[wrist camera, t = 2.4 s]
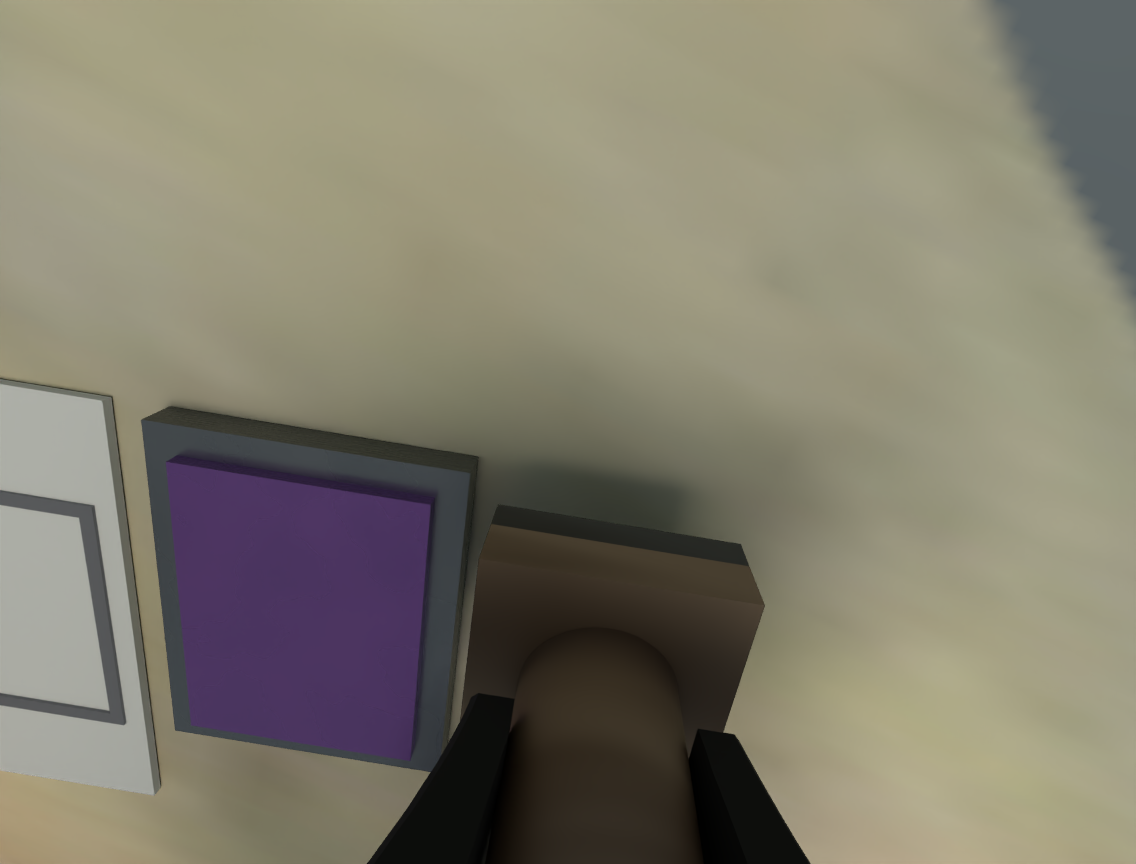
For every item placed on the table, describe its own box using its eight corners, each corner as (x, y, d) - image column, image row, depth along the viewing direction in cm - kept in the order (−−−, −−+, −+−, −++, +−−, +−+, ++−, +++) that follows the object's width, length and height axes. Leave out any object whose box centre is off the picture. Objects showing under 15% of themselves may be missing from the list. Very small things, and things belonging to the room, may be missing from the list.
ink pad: (447, 745, 19) (435, 785, 18) (196, 704, 19) (166, 741, 18) (478, 457, 15) (466, 480, 14) (169, 406, 15) (129, 425, 14)
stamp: (685, 727, 14) (755, 1181, 8) (474, 692, 14) (362, 1115, 8) (740, 544, 12) (894, 932, 6) (498, 504, 12) (375, 848, 6)
